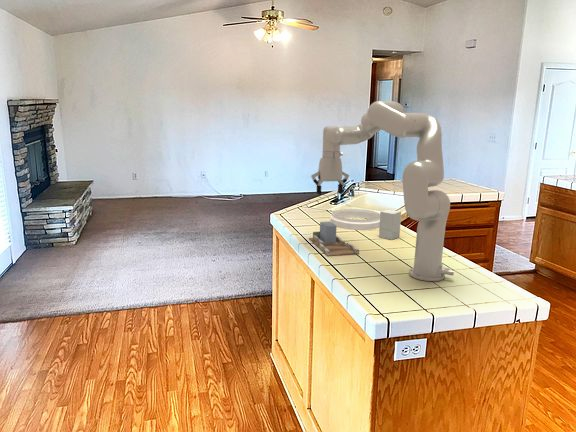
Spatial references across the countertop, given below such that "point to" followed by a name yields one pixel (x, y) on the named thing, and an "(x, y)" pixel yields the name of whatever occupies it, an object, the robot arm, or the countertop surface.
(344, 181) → the robot arm
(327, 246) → the track
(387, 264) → the countertop surface
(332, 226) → the slider block
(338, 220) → the plate
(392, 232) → the supplement box
